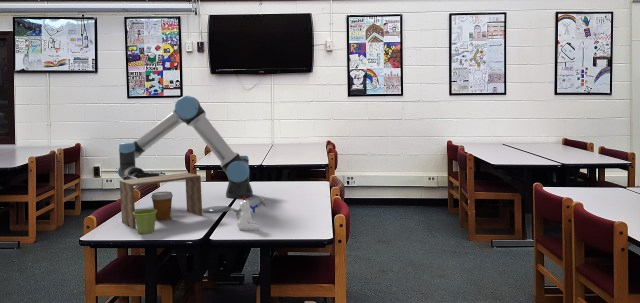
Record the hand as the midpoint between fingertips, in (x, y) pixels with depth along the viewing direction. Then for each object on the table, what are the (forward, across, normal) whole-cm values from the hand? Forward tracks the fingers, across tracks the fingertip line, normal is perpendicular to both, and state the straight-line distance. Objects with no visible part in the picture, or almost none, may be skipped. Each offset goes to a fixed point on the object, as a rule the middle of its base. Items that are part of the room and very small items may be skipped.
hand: (151, 179), depth 217 cm
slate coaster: (+11, -28, -17) cm, 35 cm away
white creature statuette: (+53, -19, -17) cm, 59 cm away
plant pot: (+27, +14, -18) cm, 35 cm away
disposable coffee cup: (+10, -1, -17) cm, 20 cm away
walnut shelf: (+10, -1, -17) cm, 20 cm away
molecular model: (+35, -32, -17) cm, 50 cm away
